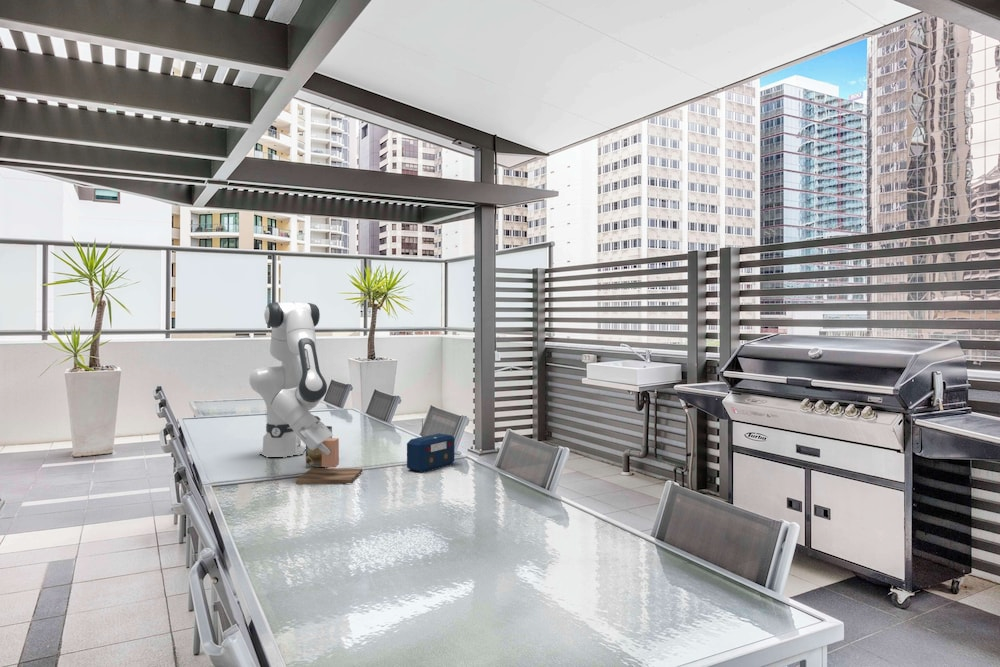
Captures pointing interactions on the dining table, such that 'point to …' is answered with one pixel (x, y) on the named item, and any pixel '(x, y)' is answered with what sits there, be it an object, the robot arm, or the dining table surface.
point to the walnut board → (329, 476)
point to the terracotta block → (333, 457)
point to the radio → (430, 452)
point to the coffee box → (315, 455)
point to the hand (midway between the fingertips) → (332, 451)
